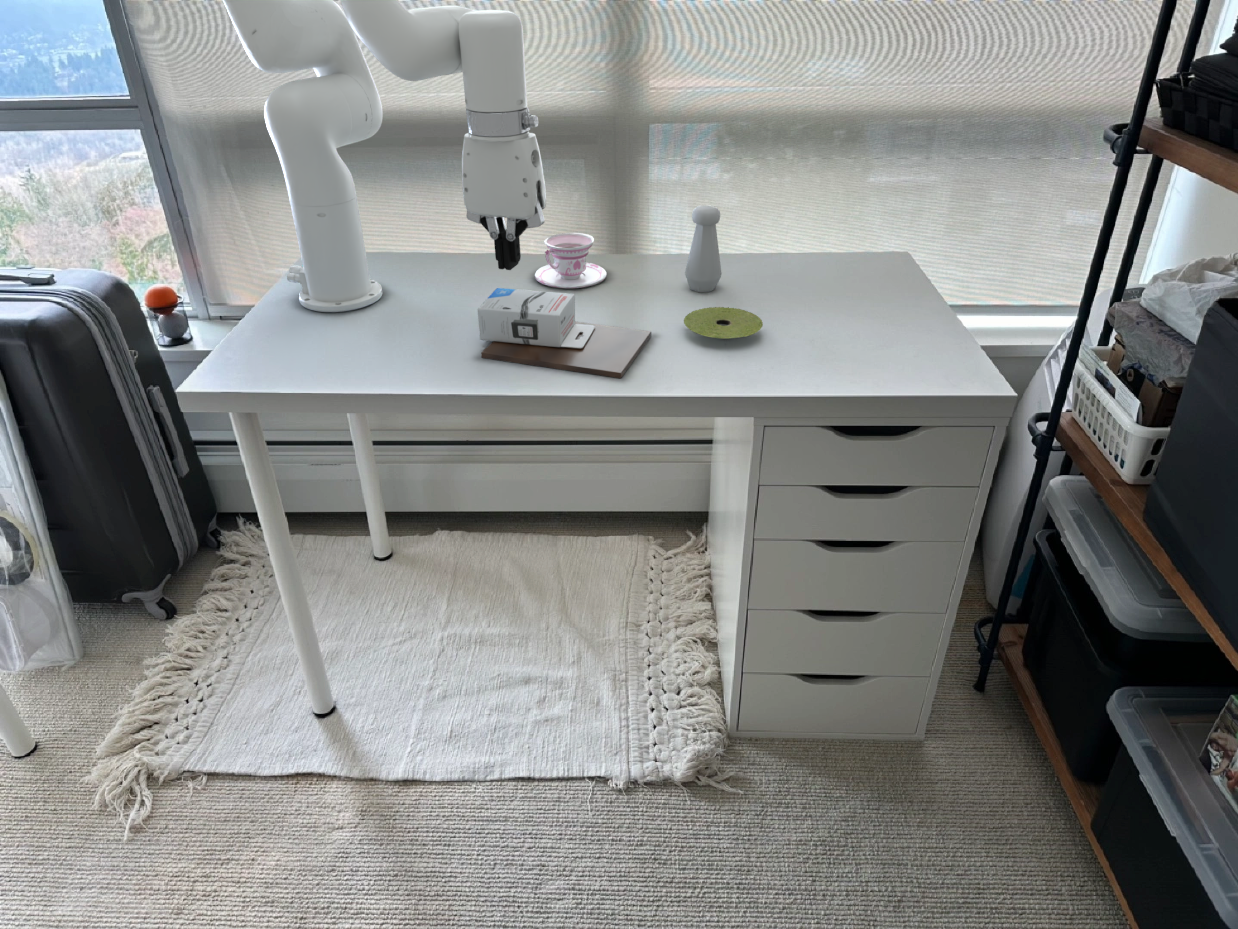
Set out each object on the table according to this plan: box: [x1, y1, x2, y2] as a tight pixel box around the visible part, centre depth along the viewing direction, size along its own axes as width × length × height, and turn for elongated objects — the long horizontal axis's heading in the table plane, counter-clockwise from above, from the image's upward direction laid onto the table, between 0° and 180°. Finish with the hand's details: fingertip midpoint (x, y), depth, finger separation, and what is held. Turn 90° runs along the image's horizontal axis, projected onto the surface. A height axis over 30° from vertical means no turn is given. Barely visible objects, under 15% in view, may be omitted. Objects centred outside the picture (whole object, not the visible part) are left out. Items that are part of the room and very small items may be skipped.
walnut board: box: [480, 320, 652, 379], centre depth 119 cm, size 20×14×1 cm
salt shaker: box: [684, 204, 723, 293], centre depth 135 cm, size 6×6×13 cm
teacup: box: [534, 232, 607, 289], centre depth 141 cm, size 12×12×6 cm
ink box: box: [477, 287, 595, 349], centre depth 120 cm, size 9×5×15 cm
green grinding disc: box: [683, 306, 764, 340], centre depth 123 cm, size 11×11×2 cm
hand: (508, 266), depth 116 cm, fingers closed
